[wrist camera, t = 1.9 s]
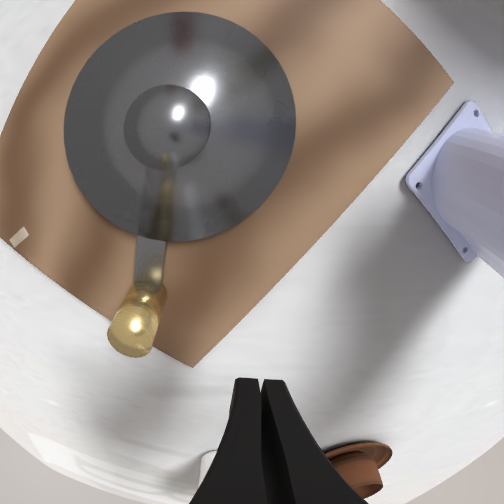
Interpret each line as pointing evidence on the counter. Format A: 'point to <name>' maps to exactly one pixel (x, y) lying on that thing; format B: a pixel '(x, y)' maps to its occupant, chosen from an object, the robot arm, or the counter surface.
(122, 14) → the board
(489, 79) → the counter surface
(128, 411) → the counter surface
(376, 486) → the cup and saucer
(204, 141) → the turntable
